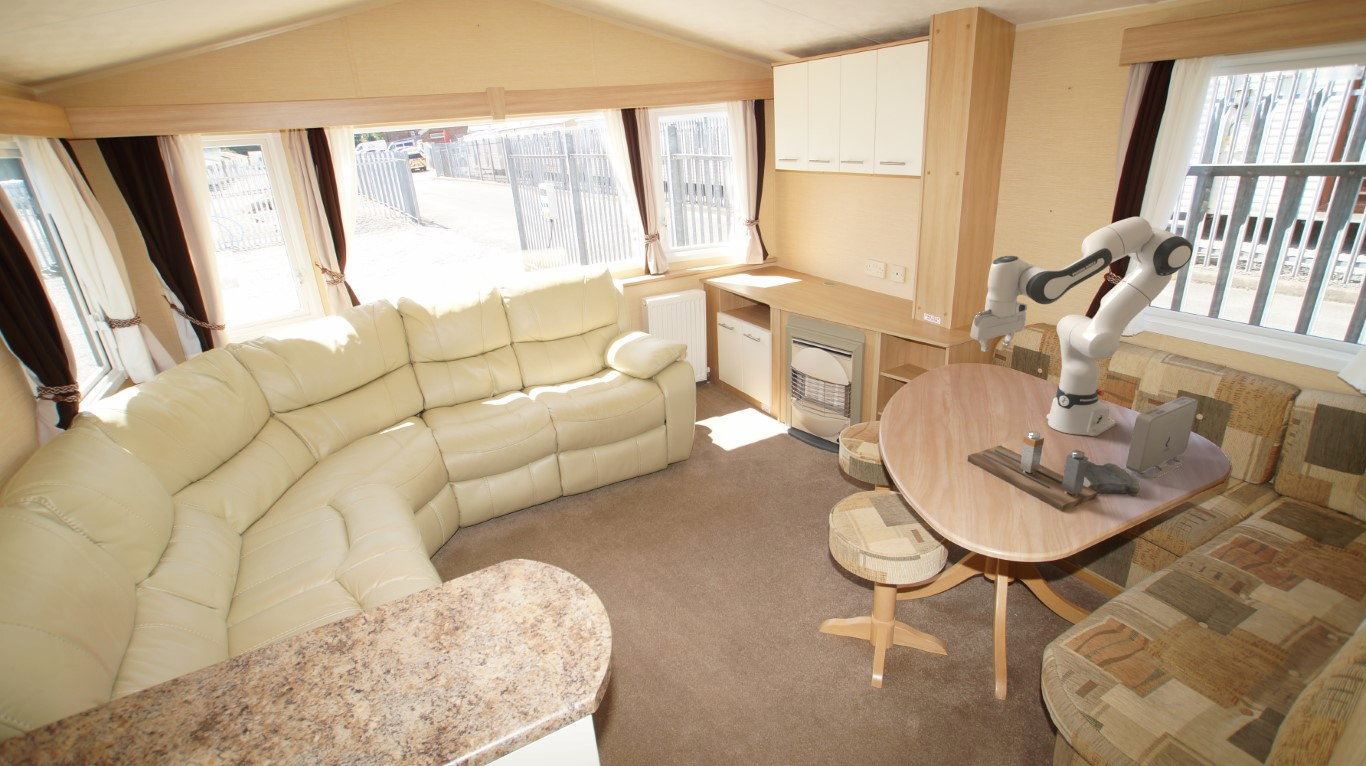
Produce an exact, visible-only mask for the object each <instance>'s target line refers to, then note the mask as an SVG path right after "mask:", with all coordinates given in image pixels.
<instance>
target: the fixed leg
mask: <svg viewBox="0 0 1366 766" xmlns="http://www.w3.org/2000/svg"><path fill="white" fill-rule="evenodd" d="M1065 460H1066V461H1065V464H1064V465H1065V466H1064V471H1063V476H1064V477H1063V482H1062V488H1061V489H1062V490H1064V491H1066V492H1068V493H1069V494H1072V495H1074V494H1077V493H1080V492H1082V488H1083V483H1084V477H1085V472H1086V467H1087V461H1089V457H1088V456H1085V452H1084V451H1082V450H1077V449H1076V450H1074V449H1073V450H1072V451H1071V453H1070V454H1067V455H1066V459H1065Z"/></svg>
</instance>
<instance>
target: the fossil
mask: <svg viewBox="0 0 1366 766" xmlns="http://www.w3.org/2000/svg"><path fill="white" fill-rule="evenodd" d="M1083 485H1084V486H1086V487H1088V488H1090V489H1092V490H1094V491H1096V492H1098V494H1097V495H1122V496H1123V495H1128V496H1131V495H1132V497H1137V496H1138V494H1139V493H1140V491H1141V485H1140V481H1139V480H1138V479H1137V478H1135V477H1134V476H1132V474H1130V473H1129V472H1128V471H1127V470H1126V469H1124V468H1121V467H1120V466H1118V464H1114V463H1110V462H1108V463H1105V464H1096V463H1094V462H1091V461H1089V460H1088V461H1087V467H1086V472H1085V477H1084V483H1083Z"/></svg>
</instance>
